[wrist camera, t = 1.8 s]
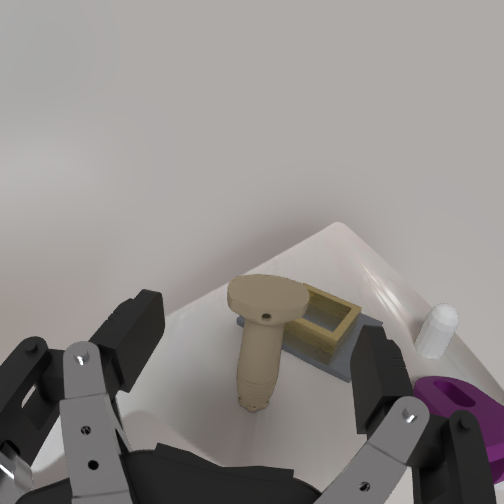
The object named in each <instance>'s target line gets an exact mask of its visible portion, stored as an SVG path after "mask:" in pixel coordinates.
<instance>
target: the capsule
mask: <svg viewBox="0 0 504 504" xmlns="http://www.w3.org/2000/svg"><path fill="white" fill-rule="evenodd" d="M458 323H459V320H458V313H457V311H456V310H455V309H454V308H453V306H451V305H449V304H438V305H437V306H435V307H433V308H432V310H431V311H430V313H429V314H428V316H427V318H426V320H425V322H424V324H423V326H422V329H421V331H420V333H419V335H418V337H417V339H416V341H415V348H416V350H417V351H418V353H419V354H420V355H422V356H423V357H425V358H428V359H431V360H434V359H439V358H441V356H442V354H443V353H444V351H445V349H446V347H447V346H448V344H449V342H450V340H451V338H452V336H453V335H454V333H455V331H456V329H457V326H458Z"/></svg>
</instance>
